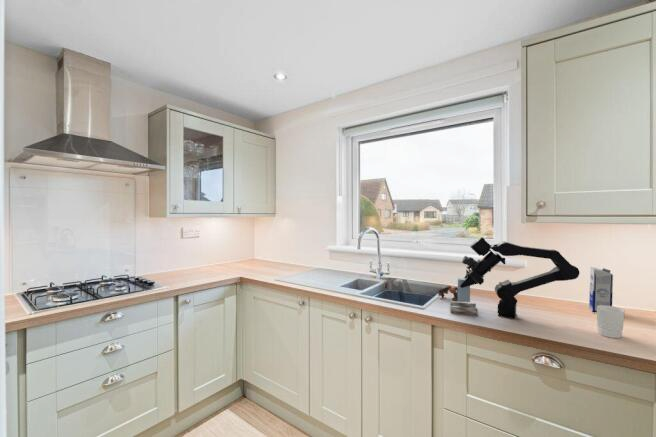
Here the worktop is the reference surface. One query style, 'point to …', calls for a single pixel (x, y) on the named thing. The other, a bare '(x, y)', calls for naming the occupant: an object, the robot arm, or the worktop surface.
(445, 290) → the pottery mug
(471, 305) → the bottom track
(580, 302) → the worktop surface
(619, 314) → the white cup
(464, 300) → the grey rectangular block
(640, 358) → the worktop surface
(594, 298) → the milk carton
